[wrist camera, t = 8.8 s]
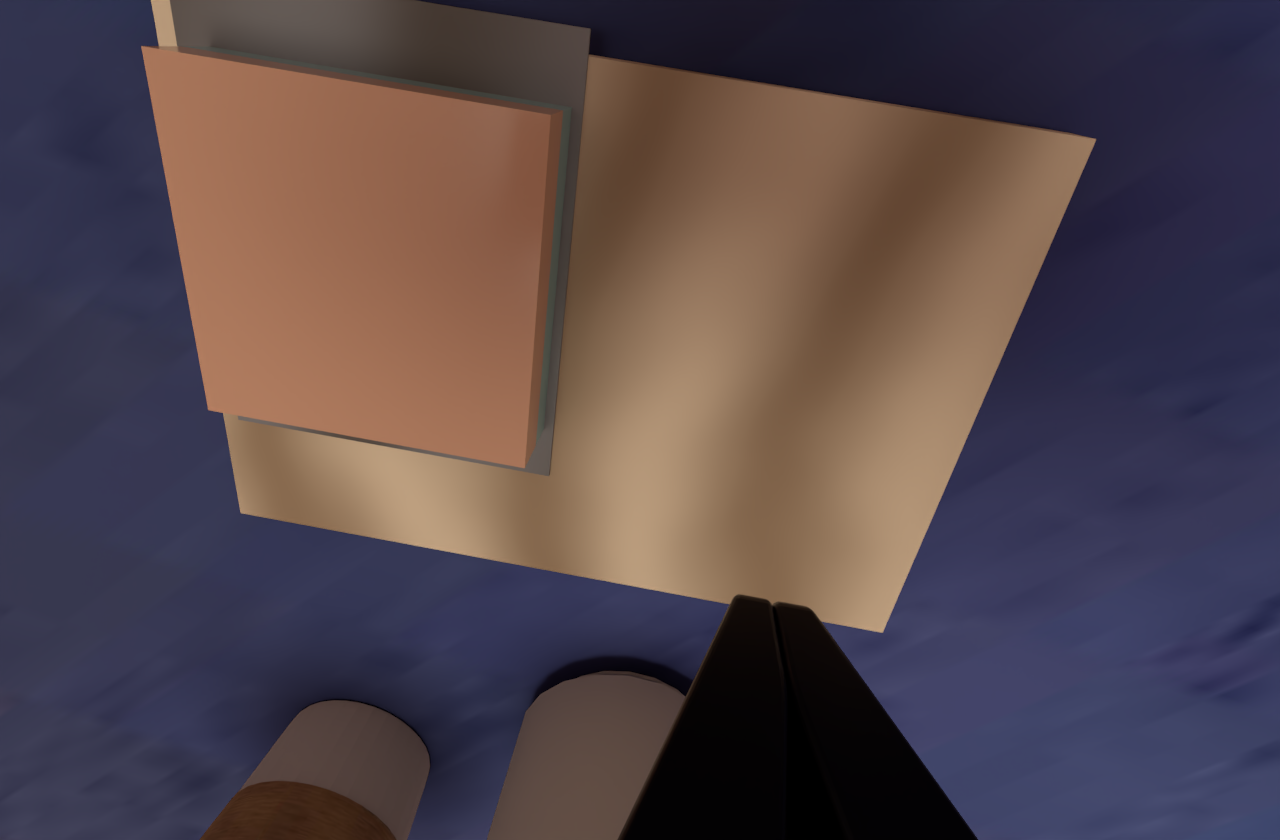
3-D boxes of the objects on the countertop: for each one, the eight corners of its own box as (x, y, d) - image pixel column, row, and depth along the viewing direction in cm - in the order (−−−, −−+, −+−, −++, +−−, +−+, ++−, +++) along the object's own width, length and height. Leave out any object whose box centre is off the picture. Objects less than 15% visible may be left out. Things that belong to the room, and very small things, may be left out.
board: (1080, 108, 15) (1110, 112, 14) (875, 604, 22) (883, 635, 21) (183, -38, 15) (139, -45, 14) (263, 491, 22) (238, 514, 21)
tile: (550, 114, 13) (141, 46, 13) (524, 468, 17) (208, 410, 17) (571, 107, 15) (210, 46, 15) (543, 428, 19) (256, 376, 19)
